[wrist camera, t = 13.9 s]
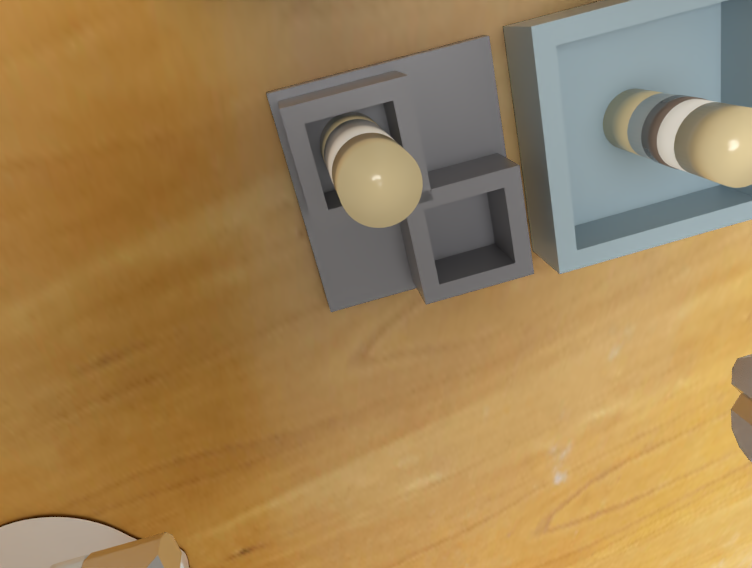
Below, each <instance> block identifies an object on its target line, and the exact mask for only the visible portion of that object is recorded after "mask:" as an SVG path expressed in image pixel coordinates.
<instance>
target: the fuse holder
mask: <svg viewBox="0 0 752 568" xmlns="http://www.w3.org/2000/svg"><path fill="white" fill-rule="evenodd" d="M266 94H267V98H268V101H269V104H270V108H271V111H272V115H273V118H274V121H275V125H276V128H277V131H278V135H279V138H280V142H281V145H282V148H283V152H284V155H285V159H286V162H287V165H288V169H289V172H290V175H291V179H292V182H293V186H294V189H295V192H296V196H297V199H298V203H299V206H300V209H301V213H302V216H303V219H304V223H305V226H306V230H307V233H308V236H309V240H310V243H311V247H312V250H313V253H314V257H315V260H316V263H317V267H318V270H319V274H320V277H321V280H322V284H323V287H324V291H325V294H326V297H327V301H328V304H329V307H330V311H331V312H334V311H337V310H341V309H344V308H348V307H351V306H355V305H358V304H362V303H365V302H369V301H372V300H376V299H379V298H383V297H387V296H390V295H394V294H397V293H401V292H404V291H408V290H411V289H415V288H417V289H418V291H419V293H420V295H421V296H422V298H423V300H424V302H425V304H430V303H433V302H437V301H440V300H444V299H447V298H451V297H454V296H458V295H461V294H465V293H468V292H472V291H475V290H479V289H482V288H486V287H489V286H493V285H496V284H500V283H503V282H507V281H510V280H514V279H517V278H521V277H524V276H528V275H531V274H534V270H533V263H532V255H531V248H530V240H529V233H528V225H527V218H526V211H525V203H524V196H523V188H522V181H521V174H520V166H519V165H518V164H516V163H515V162H513V161H511V160H509V159H508V158H506V151H505V144H504V137H503V130H502V123H501V116H500V109H499V102H498V95H497V88H496V81H495V74H494V67H493V60H492V53H491V46H490V39H489V36H486V35H483V36H479V37H475V38H471V39H467V40H464V41H460V42H456V43H452V44H448V45H444V46H441V47H437V48H433V49H429V50H425V51H421V52H418V53H414V54H410V55H406V56H402V57H399V58H395V59H391V60H387V61H383V62H379V63H376V64H372V65H368V66H364V67H360V68H356V69H353V70H349V71H345V72H341V73H337V74H334V75H330V76H326V77H322V78H318V79H314V80H311V81H307V82H303V83H299V84H295V85H291V86H288V87H284V88H280V89H276V90H272V91H268V92H266ZM348 112H358V113H361V114H364V115H366V116H368V117H369V118H371V119H372V120H373V121H374V122H375V123H376V124H377V125H378V126H380V127H381V128H382V129H383V130H384V131H385V132H386V133H387V134H388V135H389V136H390V137H392V138H393V139H394V140H395V141H396V142H397V143H398V144H399V145H400V146H401V147H402V148H404V149H405V150H406V151H407V152H408V153H409V154H410V155H411V156H412V157H413V158H414V159H415V161H416V162H417V164H418V166H419V168H420V171H421V174H422V180H423V188H422V194H421V198H420V200H419V203H418V204H417V206H416V208H415V209H414V211H413V212H412V213H411V214H410V215H409V216H408V217H407V218H406V219H404V220H403V221H401V222H400V223H398V224H395V225H393V226H390V227H385V228H373V227H368V226H365V225H362V224H360V223H358V222H357V221H355V220H354V219H353V218H351V217H350V216H349V215H348V213H347V212H346V211H345V209H344V208H343V206H342V204H341V201H340V199H339V197H338V194H337V192H336V189H335V187H334V184H333V182H332V180H331V177H330V175H329V172H328V170H327V167H326V165H325V162H324V160H323V158H322V155H321V151H320V137H321V134H322V131H323V129H324V127H325V126H326V124H327V123H328V122H329V121H330V120H331V119H332V118H334V117H335V116H337V115H340V114H344V113H348Z"/></svg>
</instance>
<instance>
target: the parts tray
mask: <svg viewBox="0 0 752 568" xmlns="http://www.w3.org/2000/svg"><path fill="white" fill-rule="evenodd" d="M503 30H504V38H505V45H506V53H507V60H508V68H509V75H510V83H511V90H512V98H513V105H514V113H515V120H516V128H517V135H518V143H519V150H520V158H521V165H522V173H523V180H524V188H525V195H526V203H527V210H528V218H529V225H530V233H531V240H532V248H533V251H534V252H535V253H536V254H537V255H538V256H539V257H541V258H542V259H543V260H544V261H545V262H546V263H548V264H549V265H550V266H551V267H552V268H553V269H554V270H556V271H557V272H558V273H559V274H562V273H565V272H569V271H572V270H576V269H579V268H583V267H586V266H590V265H593V264H597V263H600V262H604V261H607V260H611V259H614V258H618V257H621V256H625V255H628V254H632V253H635V252H639V251H642V250H646V249H649V248H653V247H656V246H660V245H663V244H667V243H670V242H674V241H677V240H681V239H684V238H688V237H691V236H695V235H698V234H702V233H705V232H709V231H712V230H716V229H719V228H723V227H726V226H730V225H733V224H737V223H740V222H744V221H747V220H751V219H752V184H751V185H749V186H746V187H741V188H732V187H728V186H725V185H722V184H719V183H717V182H714V181H711V180H708V179H705V178H702V177H699V176H697V175H694V174H691V173H688V172H685V171H682V170H679V169H674V168H671V167H668V166H665V165H662V164H659V163H657V162H654V161H653V160H651V159H648V158H645V157H642V156H640V155H637V154H634V153H631V152H628V151H625V150H622V149H620V148H617V147H615V146H613V145H612V144H611V143H610V142H609V141H608V140H607V138H606V137H605V134H604V131H603V118H604V114H605V111H606V109H607V107H608V105H609V104H610V102H611V101H612V100H613V99H614V98H615V97H616V96H617V95H618V94H620V93H621V92H623V91H626V90H628V89H634V88H638V89H645V90H651V91H656V92H662V93H668V94H674V95H686V96H692V97H698V98H703V99H706V100H709V101H715V102H721V103H727V104H732V105H738V106H744V107H750V108H752V0H602V1H598V2H594V3H590V4H587V5H583V6H579V7H575V8H571V9H567V10H564V11H560V12H556V13H552V14H548V15H544V16H541V17H537V18H533V19H529V20H525V21H522V22H518V23H514V24H510V25H506V26H503Z"/></svg>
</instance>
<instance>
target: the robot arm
mask: <svg viewBox="0 0 752 568" xmlns="http://www.w3.org/2000/svg"><path fill="white" fill-rule="evenodd" d="M732 385H733V386H734V387H735V388H736V389H737V390H738V391H739V392H740V393H741V394H740V396H739V398H738V399H737V401H736V402H735V404H734V406H733V407H732V409H731V422H732V431H733V433H734V435H735V438H736V440H737V443H738V445H739V447H740V449H741V450H742V451H743V452H744V454H745V455H746V456H747V458H748V459H749V460H750V461H751V462H752V354H751V355H747V356H744V357H741V358H738V359H737V360H736V362H735V364H734V366H733V368H732ZM0 568H189V564H188V559H187V556H186V554H185V553H184V551H182V550H181V549H180V548H179V546H178V545H177V543H176V541H175V539H174V537H173V535H172V534H169V533H167V532H164V533H161V534H157V535H153V536H150V537H146V538H143V539H139V540H137V539H135V538H132V537H130V536H128V535H126V534H124V533H122V532H120V531H118V530H116V529H113V528H111V527H109V526H106V525H103V524H100V523H96V522H92V521H88V520H83V519H77V518H67V517H43V518H34V519H27V520H22V521H18V522H14V523H11V524H8V525H5V526H2V527H0Z"/></svg>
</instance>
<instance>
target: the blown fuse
mask: <svg viewBox="0 0 752 568" xmlns="http://www.w3.org/2000/svg"><path fill="white" fill-rule="evenodd" d="M603 131H604V134H605V137H606V138H607V140H608V141H609V142H610V143H611V144H612V145H613V146H615V147H617V148H620V149H622V150H625V151H628V152H631V153H634V154H637V155H640V156H642V157H645V158H648V159H651V160H653V161H654V162H657V163H659V164H662V165H665V166H668V167H671V168H674V169H679V170H682V171H685V172H688V173H691V174H694V175H697V176H699V177H702V178H705V179H708V180H711V181H714V182H717V183H719V184H722V185H725V186H728V187H732V188H741V187H746V186H749V185H751V184H752V108H750V107H744V106H738V105H732V104H727V103H721V102H715V101H709V100H706V99H703V98H698V97H692V96H686V95H674V94H668V93H662V92H656V91H651V90H645V89H638V88H634V89H628V90H626V91H623V92H621V93H620V94H618V95H617V96H616V97H615V98H614V99H613V100H612V101H611V102H610V104H609V105H608V107H607V109H606V111H605V114H604V118H603Z"/></svg>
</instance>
